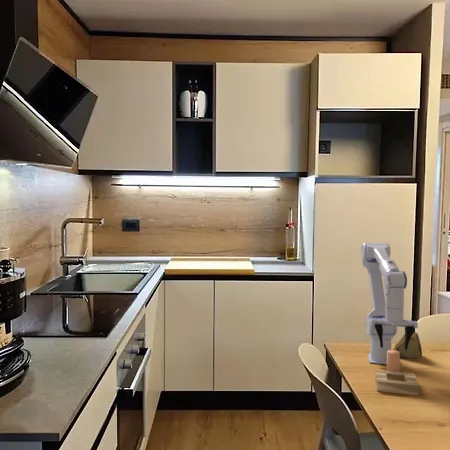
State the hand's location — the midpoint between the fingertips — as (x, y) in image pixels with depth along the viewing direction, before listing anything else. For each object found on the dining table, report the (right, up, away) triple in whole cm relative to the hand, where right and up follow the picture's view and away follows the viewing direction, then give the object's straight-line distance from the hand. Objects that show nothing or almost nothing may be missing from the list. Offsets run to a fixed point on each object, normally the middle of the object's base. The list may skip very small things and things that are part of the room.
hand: (393, 347), depth 159 cm
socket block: (-2, -10, -9) cm, 14 cm away
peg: (0, -9, +1) cm, 10 cm away
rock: (+12, -9, +20) cm, 25 cm away
